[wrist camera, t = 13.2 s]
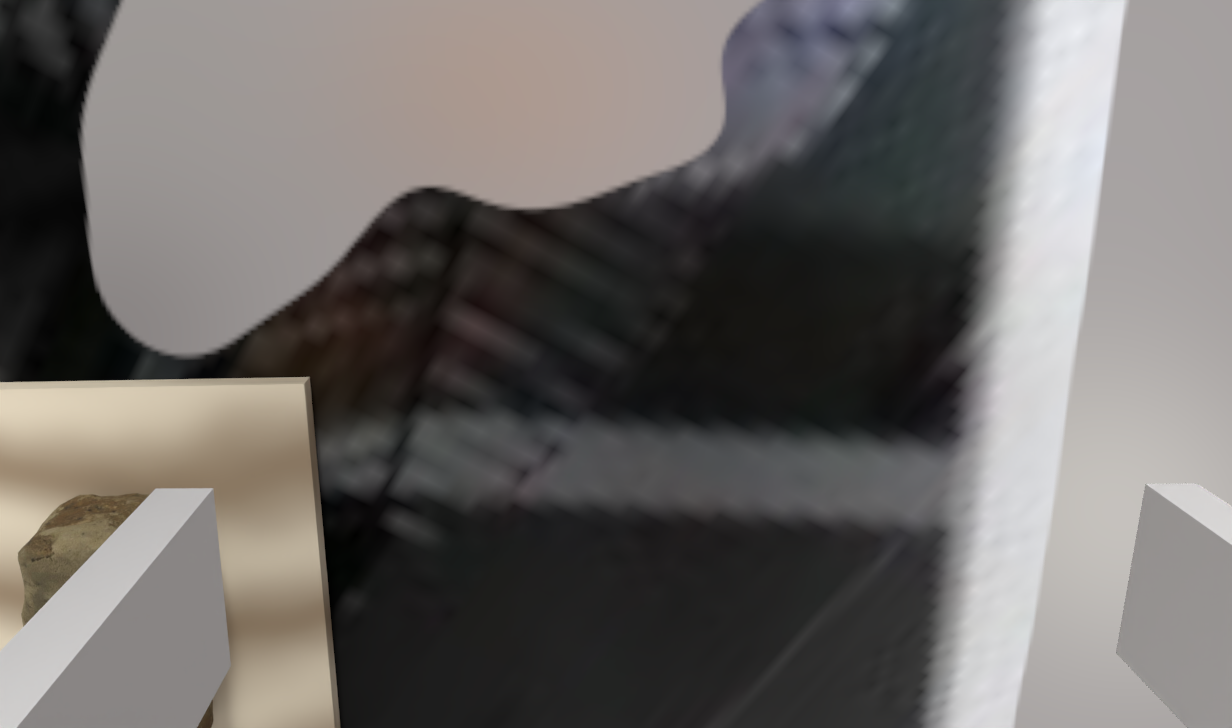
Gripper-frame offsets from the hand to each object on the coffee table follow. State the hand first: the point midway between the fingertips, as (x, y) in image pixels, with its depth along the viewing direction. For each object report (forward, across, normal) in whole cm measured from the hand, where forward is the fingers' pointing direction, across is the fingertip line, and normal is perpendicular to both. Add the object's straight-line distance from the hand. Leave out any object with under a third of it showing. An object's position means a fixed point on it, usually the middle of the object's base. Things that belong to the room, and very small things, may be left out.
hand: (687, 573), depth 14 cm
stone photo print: (+28, -19, -16) cm, 38 cm away
